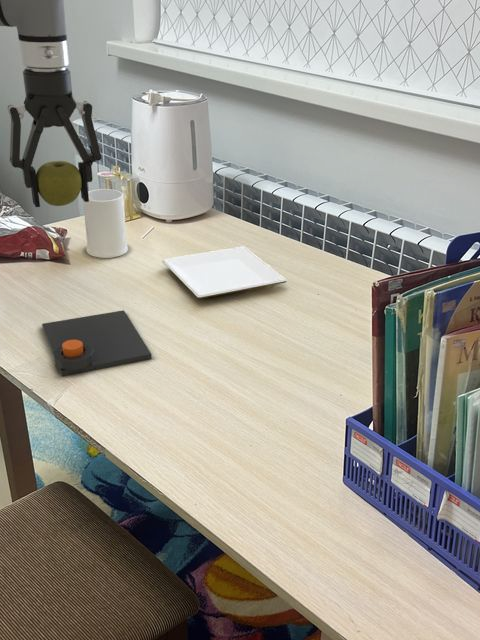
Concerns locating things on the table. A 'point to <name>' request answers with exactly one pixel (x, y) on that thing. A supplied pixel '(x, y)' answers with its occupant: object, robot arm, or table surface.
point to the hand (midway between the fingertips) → (61, 201)
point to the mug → (105, 223)
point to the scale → (96, 342)
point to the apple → (58, 182)
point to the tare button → (72, 348)
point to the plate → (223, 271)
